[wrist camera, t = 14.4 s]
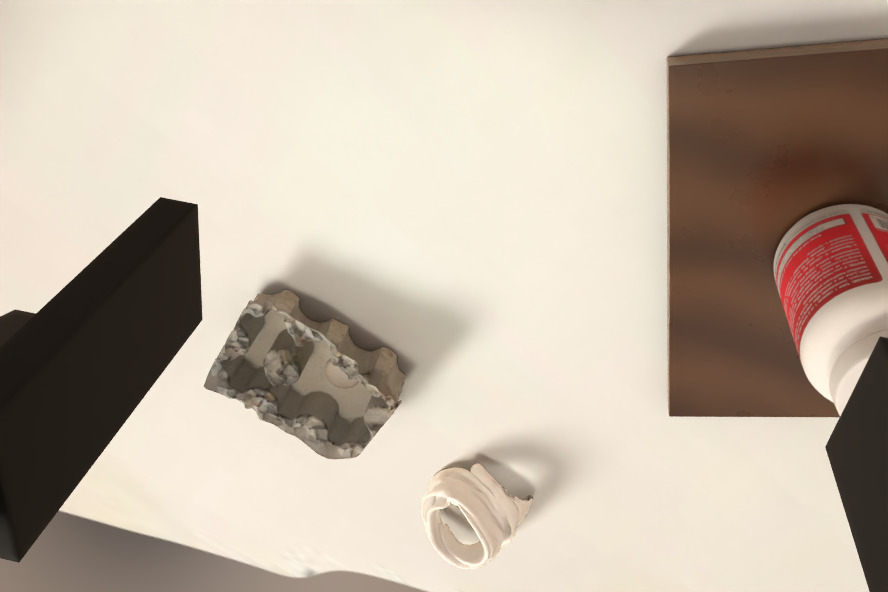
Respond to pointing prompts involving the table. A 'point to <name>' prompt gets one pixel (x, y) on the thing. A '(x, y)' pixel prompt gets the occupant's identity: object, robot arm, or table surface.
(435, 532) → the cream folded ring
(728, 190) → the walnut board
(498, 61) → the table surface
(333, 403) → the egg carton
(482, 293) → the table surface
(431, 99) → the table surface
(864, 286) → the pill bottle
